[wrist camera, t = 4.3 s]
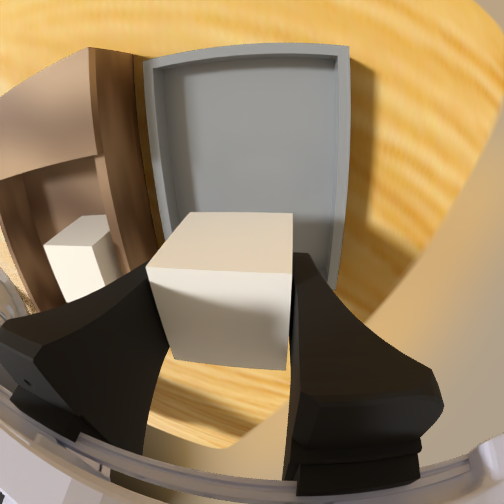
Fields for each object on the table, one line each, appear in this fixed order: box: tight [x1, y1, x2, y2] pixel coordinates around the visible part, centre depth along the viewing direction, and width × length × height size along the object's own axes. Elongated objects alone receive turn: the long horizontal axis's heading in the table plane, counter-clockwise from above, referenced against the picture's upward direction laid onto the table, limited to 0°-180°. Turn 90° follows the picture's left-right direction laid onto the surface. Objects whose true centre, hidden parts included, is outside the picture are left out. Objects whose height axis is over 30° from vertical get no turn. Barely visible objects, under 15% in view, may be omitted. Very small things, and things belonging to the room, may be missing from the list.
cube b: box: [43, 215, 123, 303], centre depth 15 cm, size 4×4×4 cm
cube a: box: [146, 212, 293, 370], centre depth 10 cm, size 4×4×4 cm
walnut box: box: [0, 47, 158, 313], centre depth 15 cm, size 18×12×4 cm, turn 2°
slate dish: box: [143, 43, 351, 290], centre depth 13 cm, size 12×9×2 cm
